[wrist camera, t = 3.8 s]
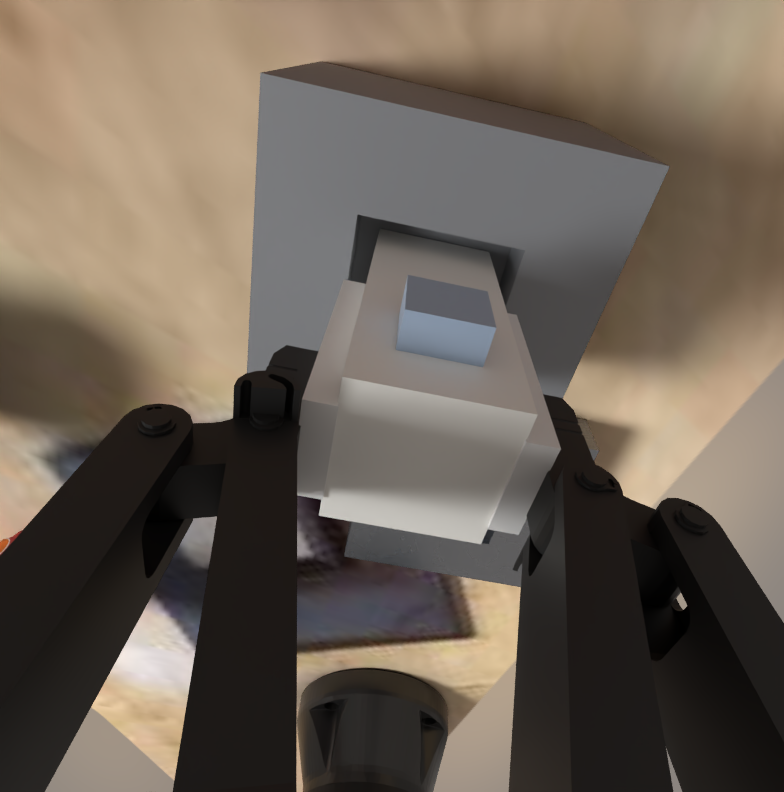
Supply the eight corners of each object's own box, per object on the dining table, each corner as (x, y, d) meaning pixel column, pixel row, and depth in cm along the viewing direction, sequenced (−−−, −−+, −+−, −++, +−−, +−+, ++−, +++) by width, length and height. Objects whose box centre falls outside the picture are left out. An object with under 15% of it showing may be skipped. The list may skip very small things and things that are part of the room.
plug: (459, 347, 21) (480, 544, 13) (362, 327, 21) (318, 515, 13) (497, 224, 18) (555, 373, 10) (385, 200, 18) (349, 332, 10)
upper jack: (502, 351, 30) (530, 467, 22) (296, 309, 30) (245, 413, 21) (585, 122, 24) (669, 166, 15) (321, 61, 23) (260, 72, 15)
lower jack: (518, 553, 40) (524, 587, 37) (349, 523, 39) (344, 556, 37) (586, 419, 33) (599, 450, 30) (381, 379, 32) (377, 408, 29)
